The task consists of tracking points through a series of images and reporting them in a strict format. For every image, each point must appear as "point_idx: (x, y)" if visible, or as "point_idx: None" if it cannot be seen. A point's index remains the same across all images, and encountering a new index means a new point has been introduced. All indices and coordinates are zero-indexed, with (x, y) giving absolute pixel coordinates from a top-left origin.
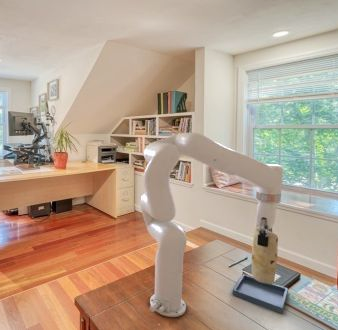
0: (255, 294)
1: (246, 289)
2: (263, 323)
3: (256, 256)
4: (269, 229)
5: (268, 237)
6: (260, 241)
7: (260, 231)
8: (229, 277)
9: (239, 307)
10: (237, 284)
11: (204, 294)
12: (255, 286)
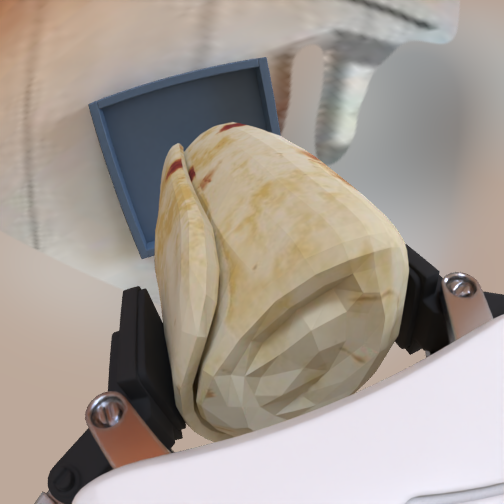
0: (166, 152)
1: (171, 113)
2: (49, 244)
3: (160, 209)
4: (420, 342)
5: (179, 429)
6: (114, 352)
7: (44, 494)
8: (218, 20)
9: (47, 164)
10: (145, 88)
11: (9, 57)
12: (229, 122)
